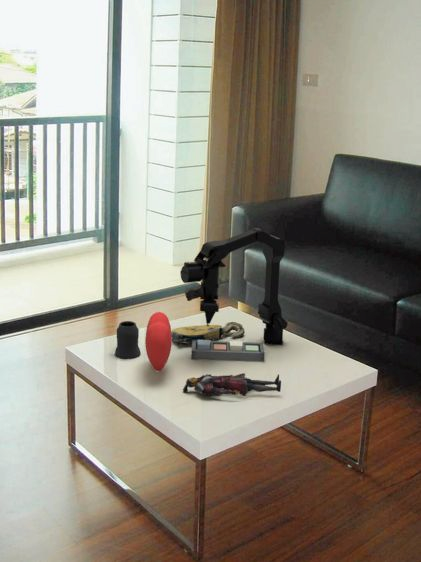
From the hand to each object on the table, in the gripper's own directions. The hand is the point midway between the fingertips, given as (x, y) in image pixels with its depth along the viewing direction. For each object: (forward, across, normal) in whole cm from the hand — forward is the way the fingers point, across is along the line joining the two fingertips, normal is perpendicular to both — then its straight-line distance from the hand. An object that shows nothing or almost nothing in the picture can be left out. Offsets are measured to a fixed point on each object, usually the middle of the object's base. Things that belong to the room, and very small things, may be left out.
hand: (208, 323), depth 255 cm
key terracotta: (+11, 0, +5) cm, 12 cm away
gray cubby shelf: (+12, 0, +7) cm, 14 cm away
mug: (+12, 0, -28) cm, 30 cm away
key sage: (+11, 0, +16) cm, 19 cm away
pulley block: (+12, -15, 0) cm, 19 cm away
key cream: (+9, 0, +10) cm, 14 cm away
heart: (+12, +15, -16) cm, 25 cm away
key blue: (+10, -1, -1) cm, 10 cm away
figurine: (+12, +30, +8) cm, 33 cm away
